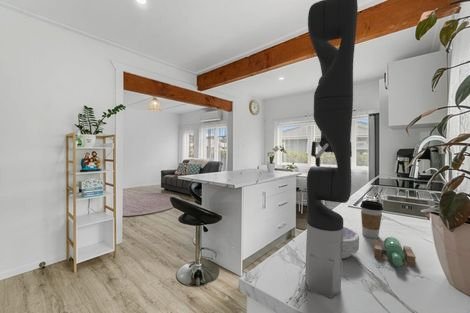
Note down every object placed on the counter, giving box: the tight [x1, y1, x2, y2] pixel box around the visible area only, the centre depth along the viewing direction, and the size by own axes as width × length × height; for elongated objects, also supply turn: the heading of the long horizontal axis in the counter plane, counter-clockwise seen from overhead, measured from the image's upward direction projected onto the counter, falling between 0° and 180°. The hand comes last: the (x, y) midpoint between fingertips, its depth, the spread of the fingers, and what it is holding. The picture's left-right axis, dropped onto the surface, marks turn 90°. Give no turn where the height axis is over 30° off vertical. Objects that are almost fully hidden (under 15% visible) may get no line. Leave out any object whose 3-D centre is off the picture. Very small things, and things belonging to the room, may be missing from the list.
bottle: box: [383, 236, 405, 268], centre depth 72 cm, size 5×5×15 cm
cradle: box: [373, 239, 416, 268], centre depth 75 cm, size 8×11×3 cm
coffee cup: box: [360, 200, 384, 239], centre depth 92 cm, size 8×8×15 cm
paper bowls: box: [342, 226, 360, 260], centre depth 77 cm, size 15×15×8 cm
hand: (330, 168), depth 82 cm, fingers open, 8 cm apart
